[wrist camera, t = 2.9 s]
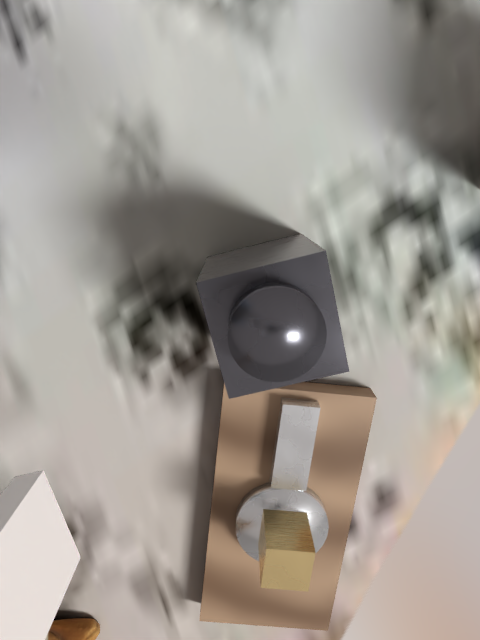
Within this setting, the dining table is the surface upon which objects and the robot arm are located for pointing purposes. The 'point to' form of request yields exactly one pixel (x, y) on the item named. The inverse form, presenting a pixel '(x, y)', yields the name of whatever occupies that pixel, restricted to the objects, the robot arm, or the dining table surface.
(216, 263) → the grey cube with knob
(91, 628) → the stuffed squirrel
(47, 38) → the dining table surface
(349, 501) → the block
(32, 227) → the dining table surface
